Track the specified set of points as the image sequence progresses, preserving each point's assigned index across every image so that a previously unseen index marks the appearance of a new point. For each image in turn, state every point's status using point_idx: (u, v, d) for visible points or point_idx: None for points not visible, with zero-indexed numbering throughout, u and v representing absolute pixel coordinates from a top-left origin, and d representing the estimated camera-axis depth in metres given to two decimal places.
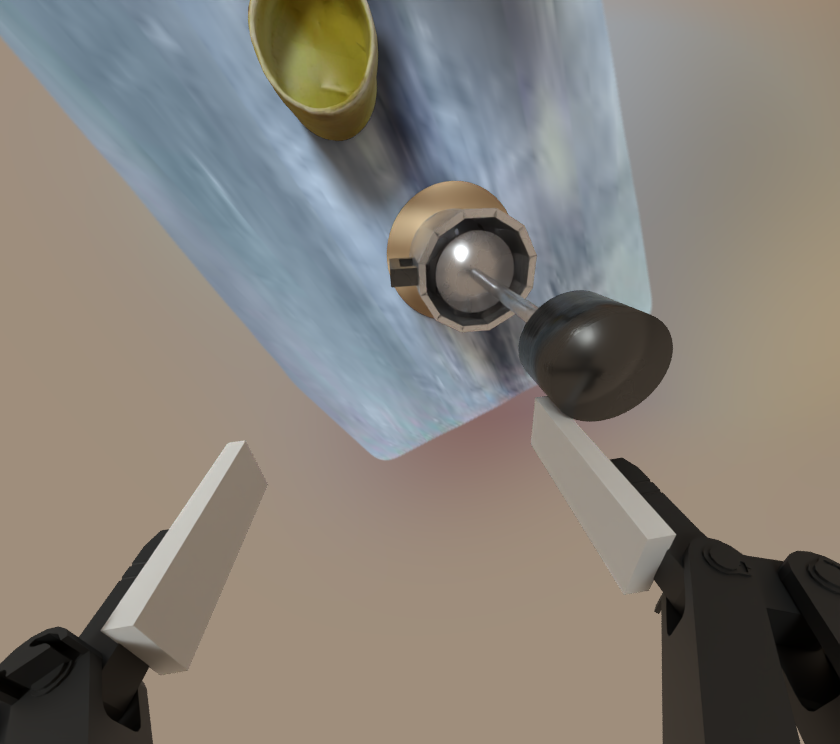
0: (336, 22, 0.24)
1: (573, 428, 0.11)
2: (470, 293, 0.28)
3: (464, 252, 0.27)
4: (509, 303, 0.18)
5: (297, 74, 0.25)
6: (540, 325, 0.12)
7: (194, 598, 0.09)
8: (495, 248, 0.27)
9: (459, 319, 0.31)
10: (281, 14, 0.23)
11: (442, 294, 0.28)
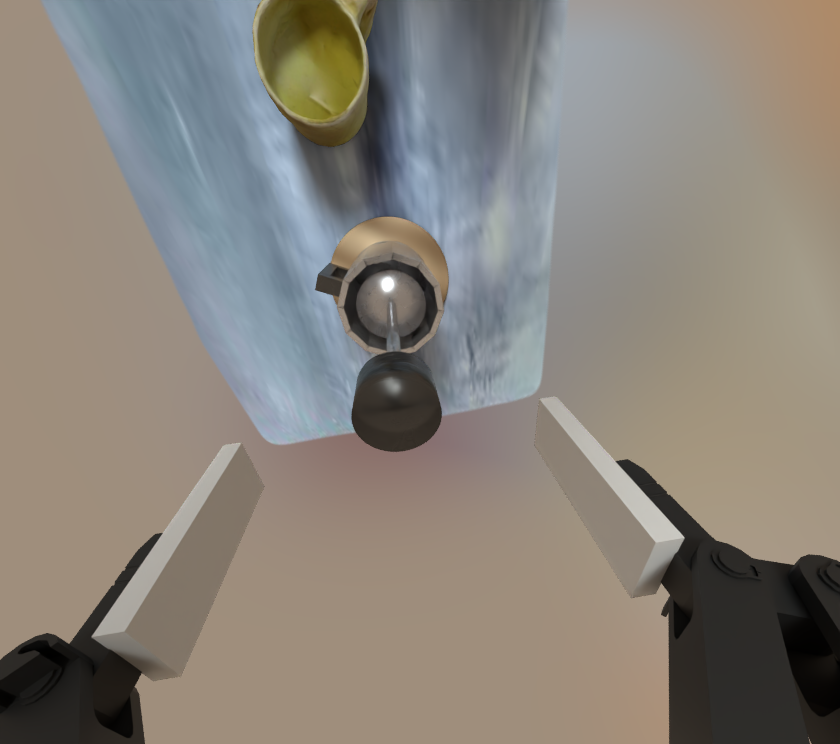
0: (339, 53, 0.27)
1: (578, 429, 0.11)
2: (383, 320, 0.32)
3: (387, 285, 0.30)
4: (387, 342, 0.22)
5: (290, 76, 0.27)
6: (368, 368, 0.16)
7: (188, 603, 0.09)
8: (413, 292, 0.31)
9: (370, 339, 0.34)
10: (292, 21, 0.26)
11: (358, 312, 0.31)
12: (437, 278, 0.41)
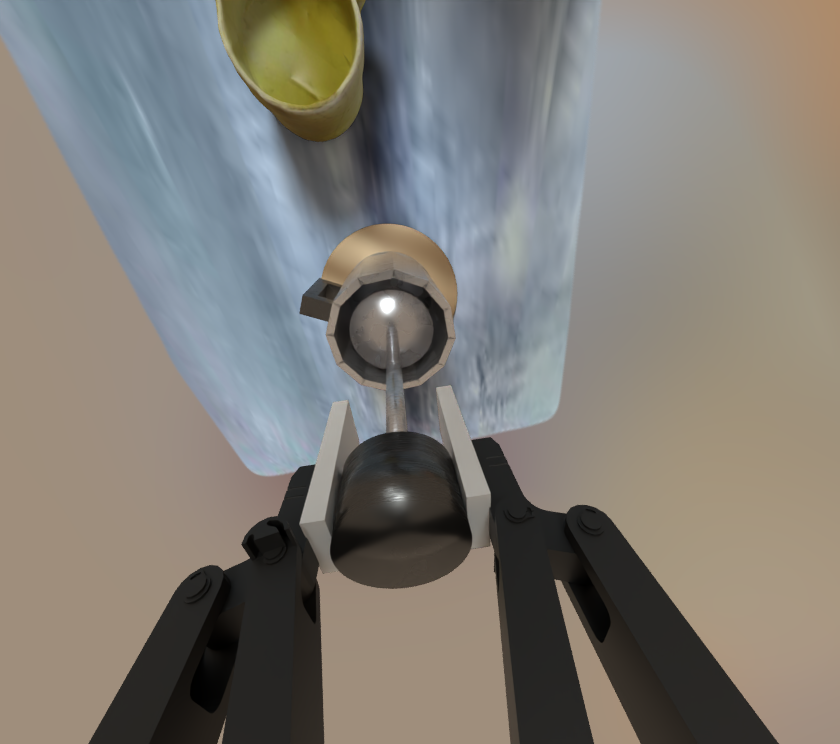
0: (327, 23, 0.21)
1: (454, 412, 0.13)
2: (382, 348, 0.27)
3: (386, 308, 0.25)
4: (387, 391, 0.17)
5: (267, 52, 0.22)
6: (358, 464, 0.10)
7: None
8: (418, 316, 0.26)
9: (366, 369, 0.29)
10: None
11: (352, 339, 0.26)
12: (444, 293, 0.36)
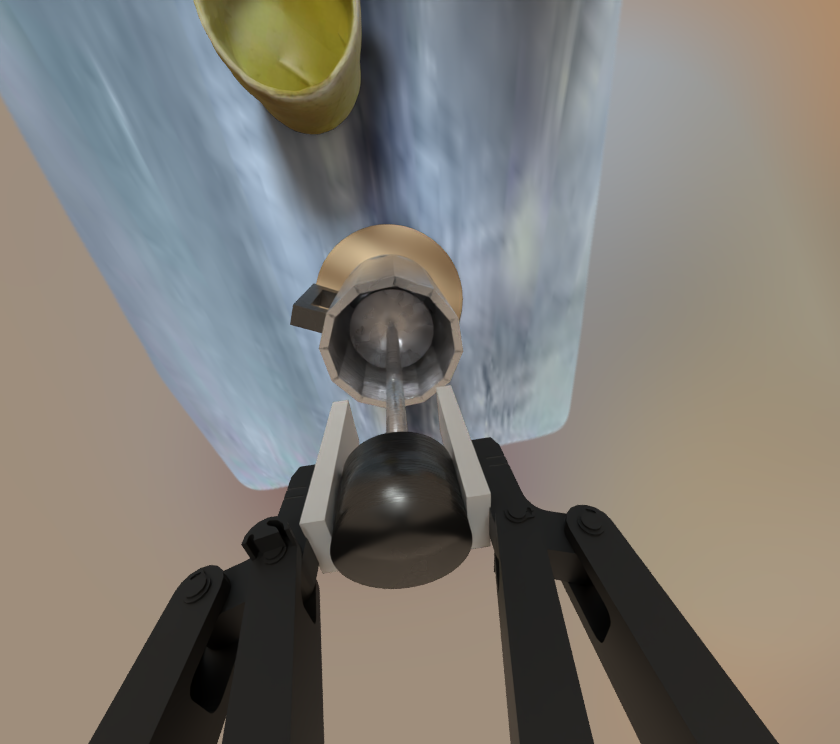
0: None
1: (454, 412, 0.13)
2: (382, 348, 0.27)
3: (386, 307, 0.25)
4: (387, 391, 0.17)
5: (251, 30, 0.19)
6: (358, 464, 0.10)
7: None
8: (418, 316, 0.26)
9: (364, 383, 0.26)
10: None
11: (352, 339, 0.26)
12: (449, 299, 0.33)
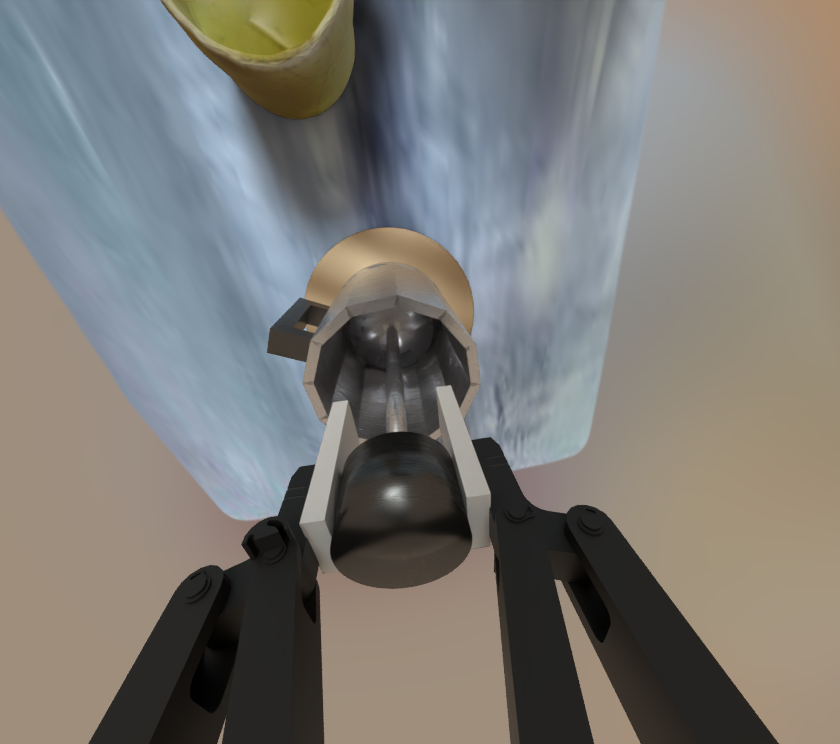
0: None
1: (454, 412, 0.13)
2: (382, 348, 0.27)
3: None
4: (387, 391, 0.17)
5: None
6: (358, 463, 0.10)
7: None
8: (418, 316, 0.26)
9: (360, 419, 0.22)
10: None
11: (352, 339, 0.26)
12: (458, 313, 0.29)
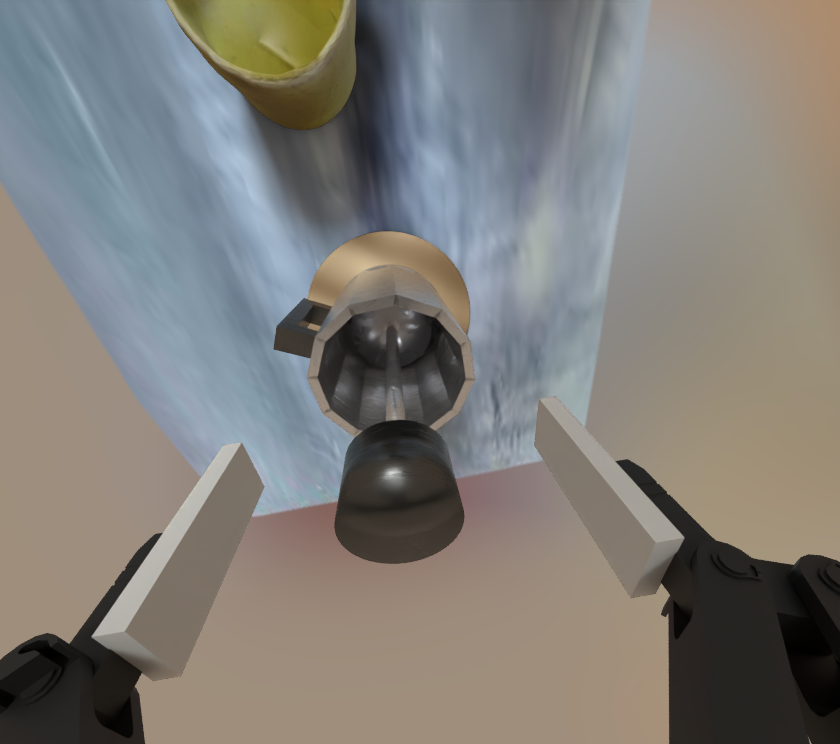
0: None
1: (578, 429, 0.11)
2: (382, 347, 0.28)
3: (386, 308, 0.26)
4: (387, 386, 0.18)
5: (225, 4, 0.16)
6: (360, 448, 0.11)
7: (188, 603, 0.09)
8: (417, 316, 0.27)
9: (361, 413, 0.23)
10: None
11: (353, 339, 0.27)
12: (455, 313, 0.30)
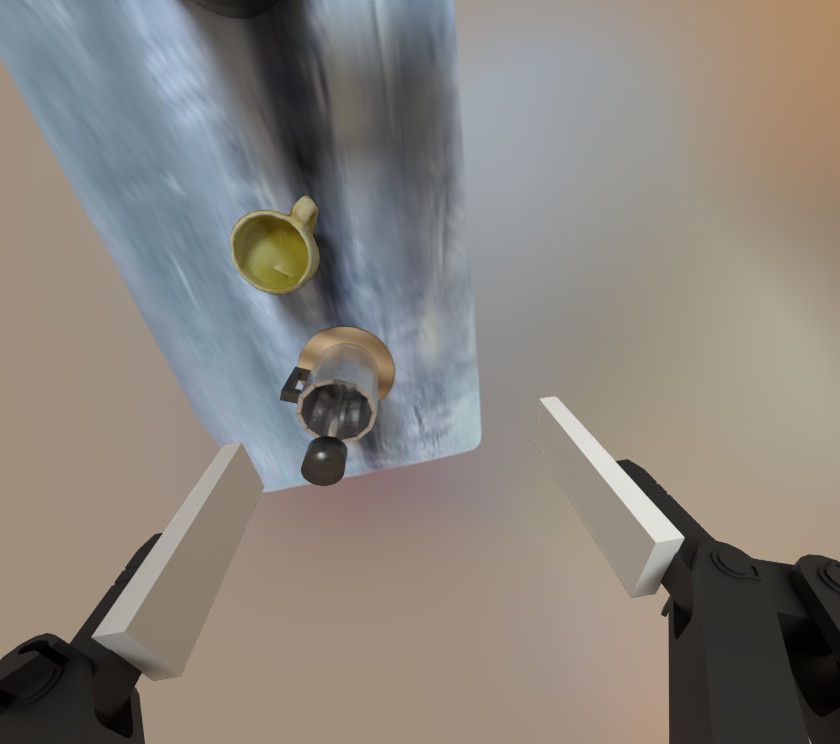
0: (293, 242, 0.37)
1: (578, 429, 0.11)
2: None
3: None
4: None
5: (258, 256, 0.38)
6: (311, 446, 0.33)
7: (188, 603, 0.09)
8: None
9: (324, 428, 0.44)
10: (258, 224, 0.36)
11: (323, 386, 0.48)
12: (384, 367, 0.52)
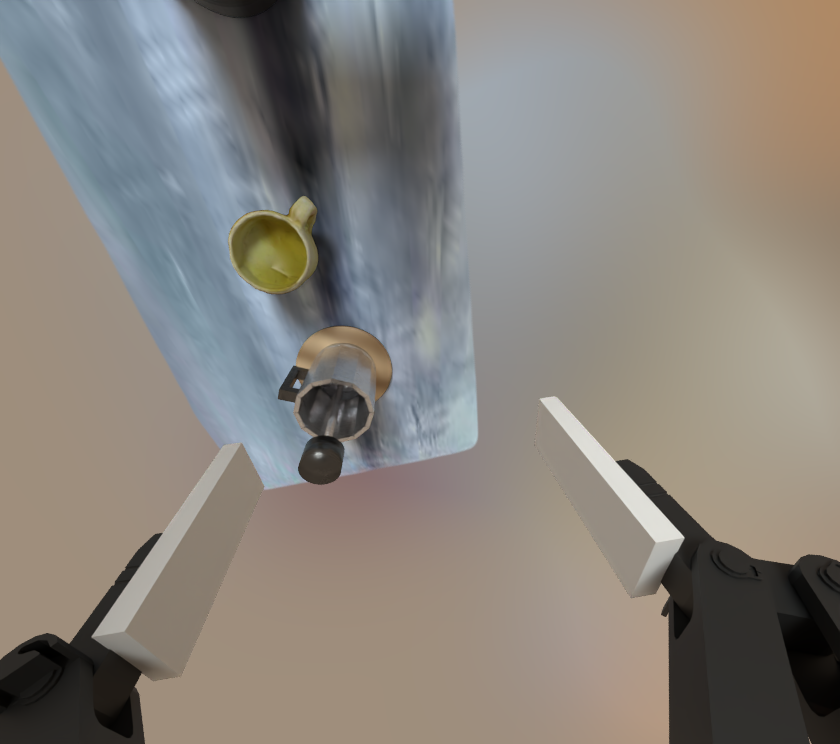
0: (291, 242, 0.37)
1: (578, 429, 0.11)
2: None
3: None
4: (329, 417, 0.40)
5: (257, 256, 0.38)
6: (308, 445, 0.33)
7: (188, 603, 0.09)
8: None
9: (322, 427, 0.45)
10: (257, 224, 0.36)
11: (321, 385, 0.49)
12: (382, 367, 0.52)
